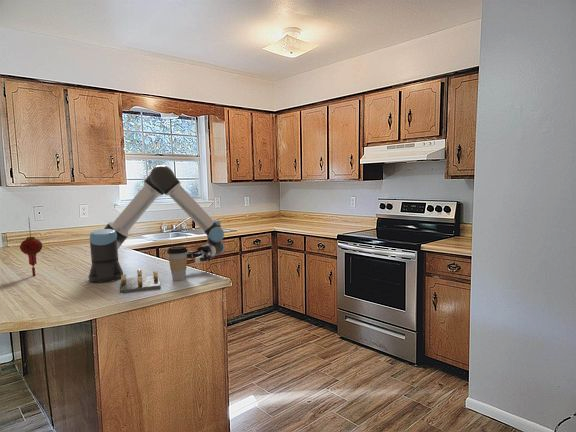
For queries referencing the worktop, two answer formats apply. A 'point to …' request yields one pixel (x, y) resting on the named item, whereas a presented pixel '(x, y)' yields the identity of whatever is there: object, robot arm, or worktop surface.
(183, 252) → the coffee cup
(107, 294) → the worktop surface
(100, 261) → the robot arm
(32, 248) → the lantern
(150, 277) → the pin plate
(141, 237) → the worktop surface
